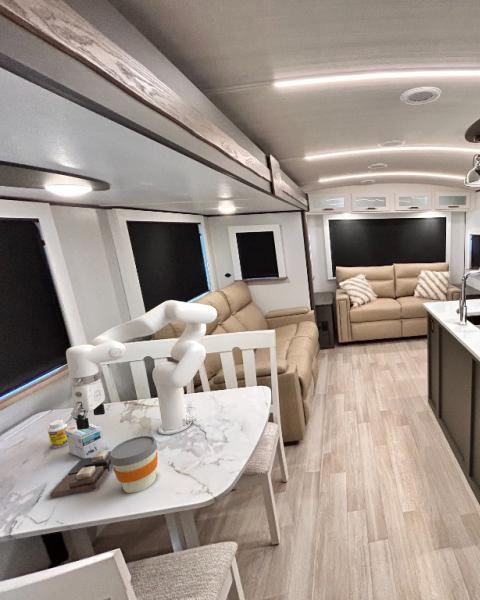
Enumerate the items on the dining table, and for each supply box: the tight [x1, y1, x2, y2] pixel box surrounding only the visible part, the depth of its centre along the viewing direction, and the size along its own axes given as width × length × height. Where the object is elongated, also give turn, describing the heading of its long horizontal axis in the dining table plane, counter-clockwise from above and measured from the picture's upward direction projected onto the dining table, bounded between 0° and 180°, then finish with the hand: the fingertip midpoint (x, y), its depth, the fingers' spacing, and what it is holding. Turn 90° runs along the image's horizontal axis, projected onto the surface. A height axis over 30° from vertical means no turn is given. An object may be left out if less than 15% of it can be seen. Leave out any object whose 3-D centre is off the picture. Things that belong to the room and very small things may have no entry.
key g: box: [76, 466, 96, 480], centre depth 111 cm, size 4×4×2 cm
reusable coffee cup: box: [110, 435, 158, 494], centre depth 111 cm, size 13×13×15 cm
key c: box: [91, 449, 109, 462], centre depth 119 cm, size 4×4×2 cm
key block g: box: [50, 466, 109, 499], centre depth 111 cm, size 12×8×4 cm, turn 109°
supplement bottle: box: [47, 419, 69, 448], centre depth 131 cm, size 6×6×10 cm
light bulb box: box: [65, 422, 106, 459], centre depth 127 cm, size 11×7×11 cm, turn 71°
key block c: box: [67, 450, 114, 476], centre depth 119 cm, size 12×8×4 cm, turn 109°
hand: (91, 421), depth 117 cm, fingers open, 9 cm apart
